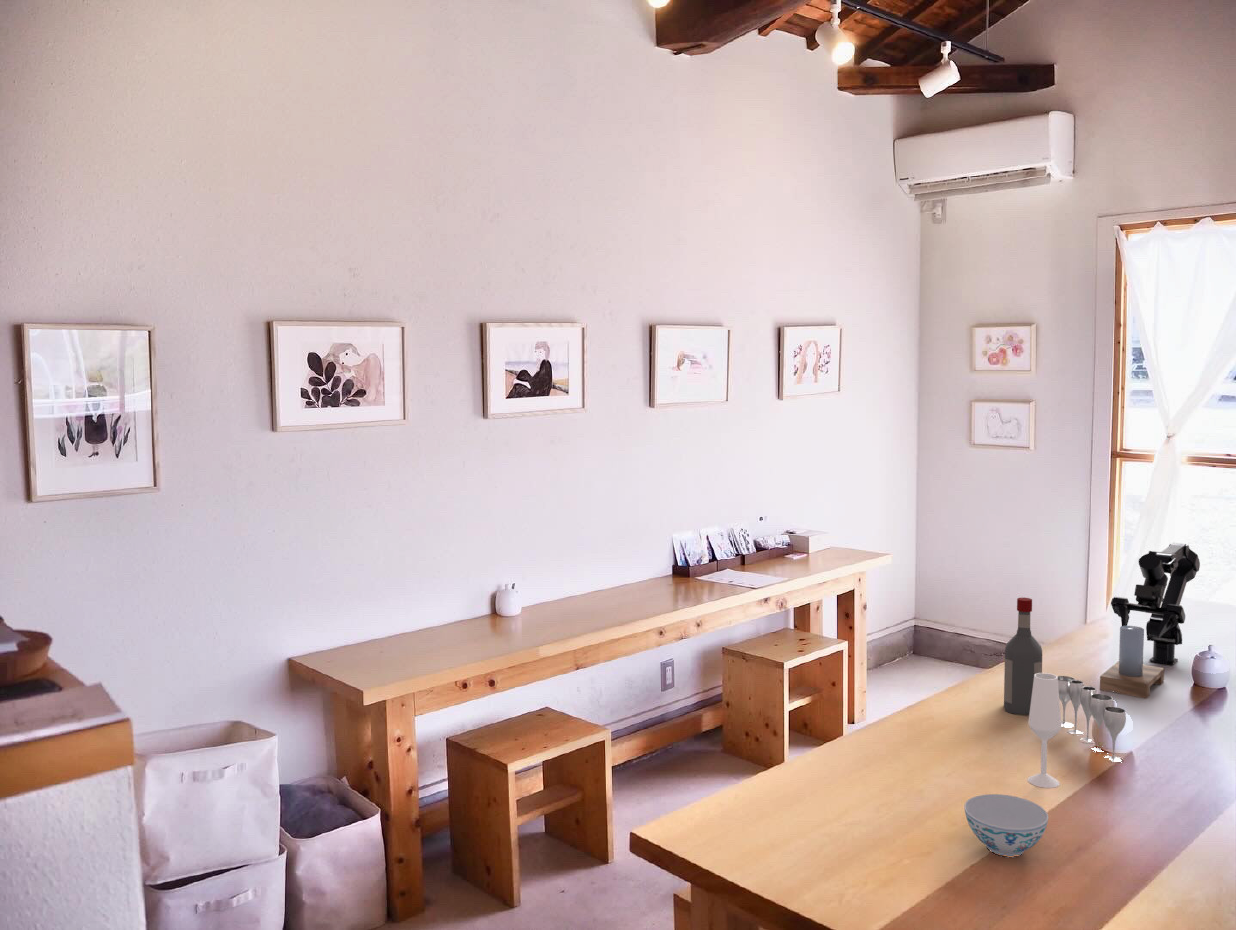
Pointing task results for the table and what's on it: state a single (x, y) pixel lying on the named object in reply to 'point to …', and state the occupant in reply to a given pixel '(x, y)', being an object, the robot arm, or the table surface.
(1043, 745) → the champagne flute
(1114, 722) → the goblet set
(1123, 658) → the tall grey cylinder
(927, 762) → the table surface
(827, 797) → the table surface
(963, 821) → the table surface
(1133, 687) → the riser
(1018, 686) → the liquor
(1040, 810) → the chinaware
